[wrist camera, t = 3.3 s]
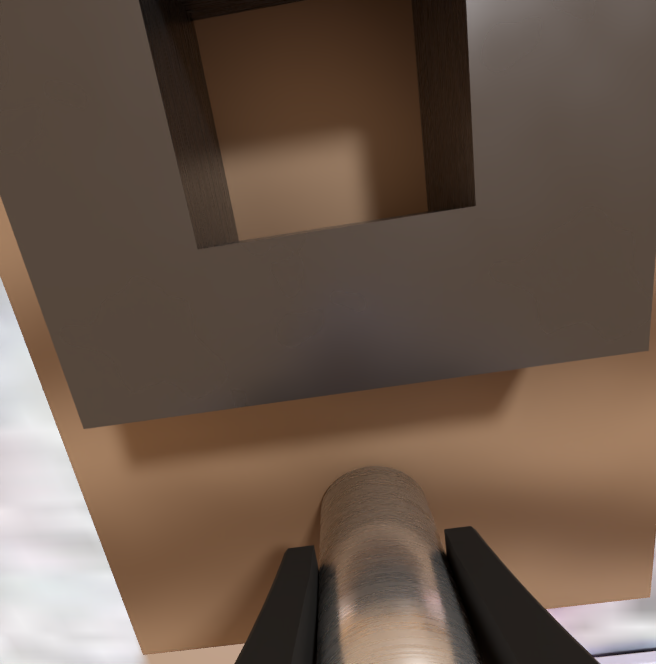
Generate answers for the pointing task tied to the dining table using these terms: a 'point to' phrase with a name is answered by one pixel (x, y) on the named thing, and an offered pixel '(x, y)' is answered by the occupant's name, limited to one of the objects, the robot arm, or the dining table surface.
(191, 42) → the socket block
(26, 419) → the dining table surface
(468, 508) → the walnut board
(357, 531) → the metal peg
